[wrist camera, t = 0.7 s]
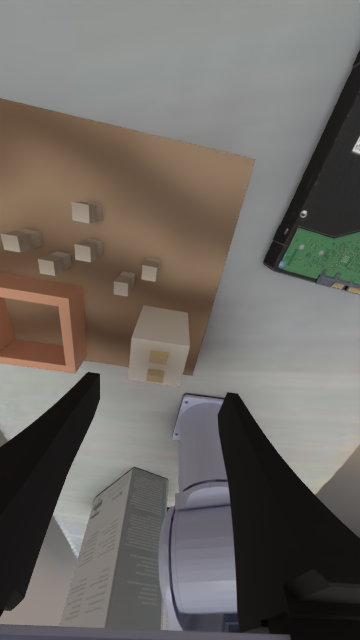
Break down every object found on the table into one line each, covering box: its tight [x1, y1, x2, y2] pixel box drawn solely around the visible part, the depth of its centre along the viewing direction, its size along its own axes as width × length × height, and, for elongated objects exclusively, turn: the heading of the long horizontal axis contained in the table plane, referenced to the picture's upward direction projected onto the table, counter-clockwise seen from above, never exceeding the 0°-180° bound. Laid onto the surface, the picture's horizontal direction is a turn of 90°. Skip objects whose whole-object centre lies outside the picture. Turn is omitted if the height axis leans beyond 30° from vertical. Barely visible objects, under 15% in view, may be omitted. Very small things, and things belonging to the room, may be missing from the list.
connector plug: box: [128, 305, 190, 387], centre depth 17 cm, size 4×4×6 cm
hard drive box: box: [60, 468, 168, 630], centre depth 30 cm, size 16×8×20 cm, turn 143°
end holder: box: [0, 273, 87, 373], centre depth 18 cm, size 8×8×2 cm
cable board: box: [0, 98, 255, 376], centre depth 16 cm, size 19×20×4 cm
